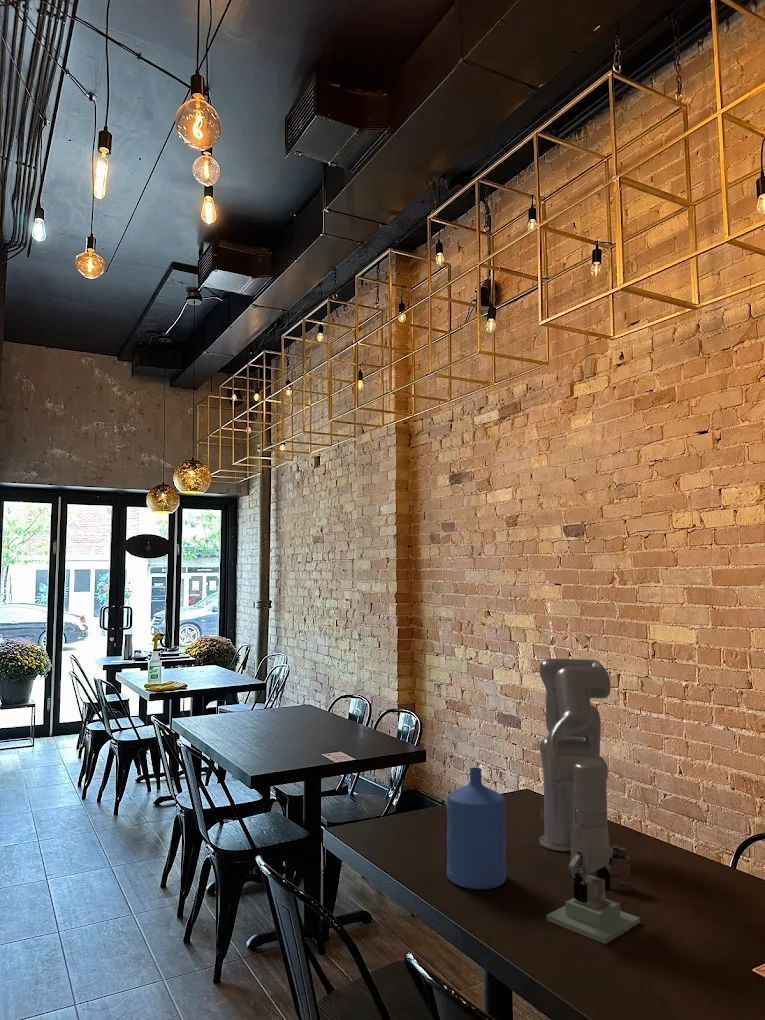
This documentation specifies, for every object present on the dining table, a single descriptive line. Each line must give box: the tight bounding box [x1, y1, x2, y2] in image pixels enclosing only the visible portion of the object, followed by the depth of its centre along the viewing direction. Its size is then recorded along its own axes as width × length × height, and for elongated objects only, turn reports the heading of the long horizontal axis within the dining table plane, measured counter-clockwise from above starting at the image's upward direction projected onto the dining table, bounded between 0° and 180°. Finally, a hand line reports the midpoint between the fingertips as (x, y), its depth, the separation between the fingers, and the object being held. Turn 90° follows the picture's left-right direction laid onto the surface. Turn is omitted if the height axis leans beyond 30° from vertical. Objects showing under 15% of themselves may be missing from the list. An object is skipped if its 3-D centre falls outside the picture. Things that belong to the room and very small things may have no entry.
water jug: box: [446, 767, 507, 890], centre depth 189 cm, size 16×16×28 cm
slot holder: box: [546, 897, 641, 945], centre depth 164 cm, size 15×15×4 cm
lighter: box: [599, 844, 633, 891], centre depth 184 cm, size 8×3×10 cm, turn 71°
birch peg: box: [581, 874, 606, 911], centre depth 164 cm, size 4×4×8 cm
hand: (592, 894), depth 164 cm, fingers open, 9 cm apart
